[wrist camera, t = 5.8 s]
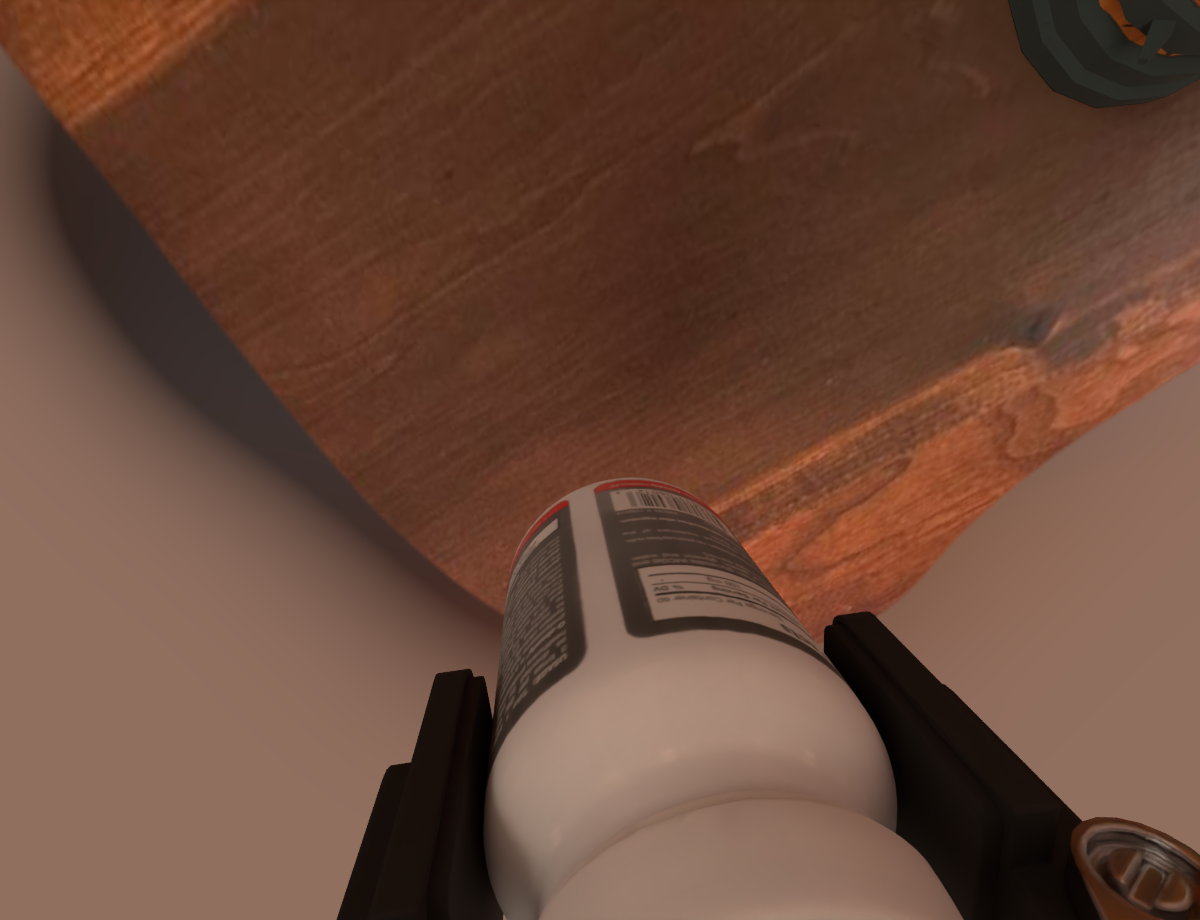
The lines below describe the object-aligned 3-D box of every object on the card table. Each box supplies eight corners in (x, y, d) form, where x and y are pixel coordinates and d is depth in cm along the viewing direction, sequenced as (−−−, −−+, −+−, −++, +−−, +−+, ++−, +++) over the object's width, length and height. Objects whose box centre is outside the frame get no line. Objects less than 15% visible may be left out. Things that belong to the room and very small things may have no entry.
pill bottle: (577, 709, 16) (625, 1358, 6) (465, 541, 14) (293, 1081, 5) (770, 612, 15) (1132, 1145, 6) (678, 427, 14) (976, 756, 4)
